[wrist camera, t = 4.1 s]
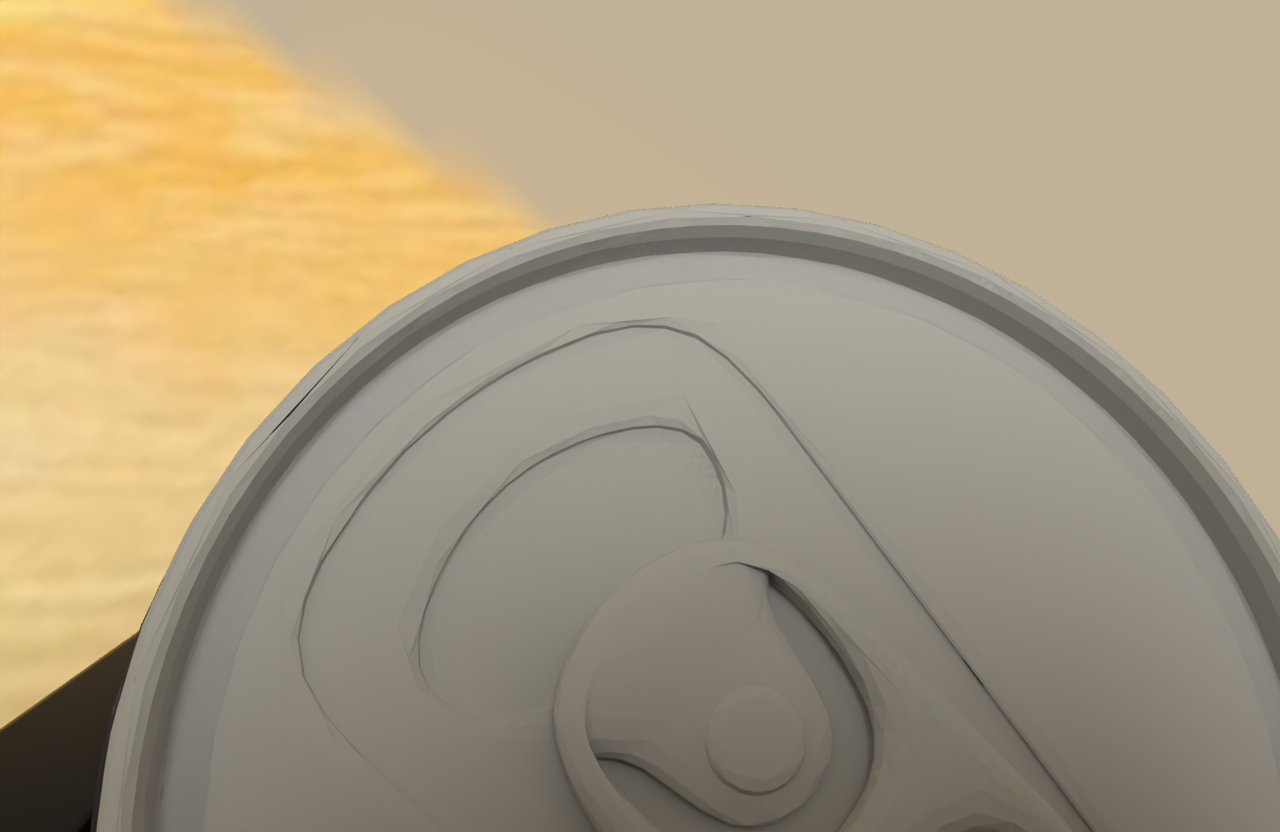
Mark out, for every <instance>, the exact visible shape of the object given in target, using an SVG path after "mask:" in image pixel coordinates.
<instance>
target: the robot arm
mask: <svg viewBox="0 0 1280 832" xmlns="http://www.w3.org/2000/svg"><path fill="white" fill-rule="evenodd" d="M138 632H139V631H138ZM138 632H137V633H135V634H134V635H132V636H131V637H130V638H128V639H127V640H125V641H124V642H123V643H121V644H120V645H118V646H117V647H115V648H114V649H113V650H111V651H110V652H108V653H107V654H106V655H104V656H103V657H101V658H100V659H99V660H97V661H96V662H94V663H93V664H91V665H90V666H89V667H87V668H86V669H84V670H83V671H82V672H80V673H79V674H77V675H76V676H74V677H73V678H72V679H70V680H69V681H67V682H66V683H65V684H63V685H62V686H60V687H59V688H58V689H56V690H55V691H53V692H52V693H50V694H49V695H48V696H46V697H45V698H43V699H42V700H41V701H39V702H38V703H36V704H35V705H33V706H32V707H31V708H29V709H28V710H26V711H25V712H24V713H22V714H21V715H19V716H18V717H16V718H15V719H14V720H12V721H11V722H9V723H8V724H7V725H5V726H4V727H2V728H1V729H0V832H90V829H91V820H92V813H93V805H94V798H95V790H96V783H97V775H98V770H99V765H100V761H101V756H102V751H103V747H104V742H105V737H106V732H107V728H108V723H109V719H110V716H111V712H112V709H113V706H114V702H115V699H116V695H117V692H118V689H119V685H120V682H121V678H122V675H123V672H124V669H125V666H126V664H127V661H128V659H129V656H130V653H131V651H132V648H133V645H134V643H135V640H136V637H137V635H138Z"/></svg>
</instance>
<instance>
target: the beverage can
mask: <svg viewBox="0 0 1280 832" xmlns="http://www.w3.org/2000/svg"><path fill="white" fill-rule="evenodd" d="M90 832H1280V541H1279V539H1278V537H1277V535H1276V534H1275V532H1274V531H1273V530H1272V528H1271V527H1270V525H1269V524H1268V522H1267V521H1266V519H1265V518H1264V517H1263V515H1262V514H1261V512H1260V511H1259V509H1258V508H1257V506H1256V505H1255V504H1254V502H1253V501H1252V499H1251V498H1250V496H1249V495H1248V494H1247V492H1246V491H1245V489H1244V488H1243V486H1242V485H1241V484H1240V482H1239V481H1238V479H1237V478H1236V477H1235V475H1234V474H1233V472H1232V471H1231V469H1230V468H1229V466H1228V465H1227V463H1226V462H1225V461H1224V459H1223V458H1222V457H1221V456H1220V455H1219V454H1218V453H1217V452H1216V451H1215V449H1214V448H1213V447H1212V446H1211V445H1210V444H1209V443H1208V442H1207V440H1206V439H1205V438H1204V437H1203V436H1202V435H1201V434H1200V433H1199V431H1198V430H1197V429H1196V428H1195V427H1194V426H1193V425H1192V424H1191V423H1190V421H1189V420H1188V419H1187V418H1186V417H1185V416H1184V415H1183V414H1182V412H1181V411H1180V410H1179V409H1178V408H1177V407H1176V406H1175V405H1174V404H1173V402H1172V401H1171V400H1170V399H1169V398H1168V397H1167V396H1166V395H1165V393H1163V392H1162V391H1161V390H1160V389H1159V388H1158V387H1157V386H1155V385H1154V384H1153V383H1152V382H1151V381H1149V380H1148V379H1147V378H1146V377H1145V376H1144V375H1143V374H1142V373H1140V372H1139V371H1138V370H1137V369H1136V368H1135V367H1134V366H1132V365H1131V364H1130V363H1129V362H1128V361H1127V360H1126V359H1124V358H1123V357H1122V356H1121V355H1120V354H1119V353H1118V352H1116V351H1115V350H1114V349H1113V348H1112V347H1111V346H1110V345H1108V344H1107V343H1106V342H1105V341H1104V340H1103V339H1101V338H1100V337H1099V336H1098V335H1096V334H1095V333H1093V332H1092V331H1090V330H1089V329H1087V328H1086V327H1084V326H1083V325H1081V324H1080V323H1078V322H1077V321H1075V320H1074V319H1072V318H1071V317H1070V316H1068V315H1067V314H1065V313H1064V312H1062V311H1061V310H1059V309H1058V308H1056V307H1055V306H1053V305H1052V304H1050V303H1049V302H1047V301H1046V300H1044V299H1043V298H1041V297H1040V296H1038V295H1037V294H1035V293H1034V292H1032V291H1031V290H1029V289H1028V288H1026V287H1024V286H1022V285H1020V284H1018V283H1016V282H1014V281H1012V280H1010V279H1008V278H1006V277H1004V276H1001V275H1000V274H998V273H995V272H994V271H991V270H990V269H988V268H986V267H984V266H982V265H980V264H978V263H976V262H974V261H972V260H970V259H968V258H966V257H964V256H962V255H960V254H958V253H956V252H954V251H951V250H948V249H945V248H942V247H939V246H936V245H933V244H931V243H927V242H925V241H922V240H919V239H916V238H913V237H910V236H907V235H904V234H902V233H899V232H896V231H893V230H890V229H887V228H884V227H882V226H878V225H876V224H871V223H866V222H861V221H856V220H851V219H846V218H840V217H836V216H831V215H826V214H821V213H816V212H811V211H806V210H801V209H796V208H781V207H765V206H748V205H731V204H715V203H712V204H700V205H688V206H675V207H664V208H651V209H640V210H629V211H625V212H620V213H616V214H612V215H607V216H603V217H599V218H594V219H590V220H586V221H581V222H577V223H573V224H568V225H564V226H560V227H555V228H551V229H547V230H544V231H542V232H539V233H537V234H534V235H532V236H529V237H527V238H524V239H522V240H519V241H517V242H514V243H511V244H509V245H506V246H504V247H501V248H499V249H496V250H494V251H491V252H489V253H486V254H484V255H481V256H478V257H476V258H473V259H471V260H468V261H466V262H464V263H462V264H461V265H459V266H457V267H456V268H454V269H452V270H450V271H449V272H447V273H445V274H443V275H442V276H440V277H438V278H437V279H435V280H433V281H431V282H430V283H428V284H426V285H424V286H423V287H421V288H419V289H418V290H416V291H414V292H412V293H411V294H409V295H407V296H405V297H404V298H402V299H400V300H399V301H397V302H395V303H393V304H392V305H390V306H388V307H387V308H386V309H384V310H383V311H382V312H381V313H379V314H378V315H377V316H376V317H374V318H373V319H372V320H371V321H369V322H368V323H367V324H366V325H364V326H363V327H362V328H361V329H359V330H358V331H357V332H356V333H354V334H353V335H352V336H351V337H349V338H348V339H347V340H346V341H344V342H343V343H342V344H341V345H339V346H338V347H337V348H336V349H335V350H333V351H332V352H331V353H330V354H328V355H327V356H326V357H325V358H323V359H322V360H321V361H320V362H318V363H317V364H316V365H315V366H314V367H313V368H312V369H311V370H310V371H309V372H308V373H307V374H306V375H305V376H304V378H303V379H302V380H301V381H300V382H299V383H298V384H297V385H296V386H295V387H294V388H293V389H292V391H291V392H290V393H289V394H288V395H287V396H286V397H285V398H284V399H283V400H282V401H281V403H280V404H279V405H278V406H277V407H276V408H275V409H274V410H273V411H272V412H271V413H270V415H269V416H268V417H267V418H266V419H265V420H264V421H263V422H262V423H261V424H260V425H259V426H258V428H257V429H256V430H255V431H254V432H253V433H252V434H251V435H250V436H249V437H248V438H247V440H246V441H245V443H244V444H243V446H242V447H241V449H240V450H239V451H238V453H237V454H236V456H235V457H234V459H233V460H232V462H231V463H230V465H229V466H228V468H227V469H226V471H225V472H224V474H223V475H222V477H221V478H220V480H219V481H218V483H217V484H216V485H215V487H214V488H213V490H212V491H211V493H210V494H209V496H208V497H207V499H206V500H205V502H204V503H203V505H202V506H201V508H200V510H199V511H198V513H197V514H196V516H195V517H194V519H193V520H192V522H191V523H190V525H189V527H188V529H187V531H186V533H185V535H184V537H183V539H182V541H181V543H180V545H179V547H178V549H177V551H176V553H175V555H174V557H173V559H172V562H171V564H170V566H169V568H168V570H167V572H166V574H165V576H164V578H163V580H162V582H161V584H160V586H159V588H158V590H157V592H156V594H155V597H154V599H153V601H152V603H151V605H150V607H149V609H148V612H147V614H146V616H145V618H144V620H143V622H142V624H141V627H140V630H139V632H138V635H137V637H136V640H135V643H134V645H133V648H132V651H131V653H130V656H129V659H128V661H127V664H126V666H125V669H124V672H123V675H122V678H121V682H120V685H119V689H118V692H117V695H116V699H115V702H114V706H113V709H112V712H111V716H110V719H109V723H108V728H107V732H106V737H105V742H104V747H103V751H102V756H101V761H100V765H99V770H98V775H97V783H96V790H95V798H94V805H93V813H92V820H91V829H90Z"/></svg>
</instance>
